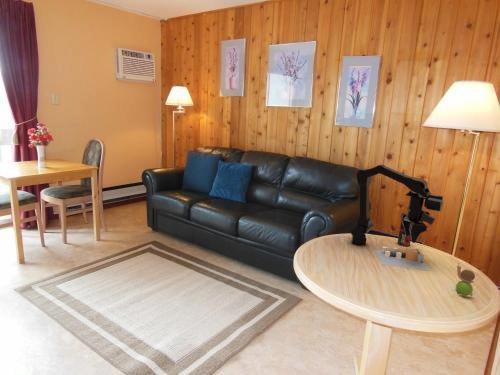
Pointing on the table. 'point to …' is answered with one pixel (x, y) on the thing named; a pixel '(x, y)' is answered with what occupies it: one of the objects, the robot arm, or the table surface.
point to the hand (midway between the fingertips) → (410, 239)
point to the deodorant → (403, 237)
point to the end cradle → (420, 256)
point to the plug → (407, 254)
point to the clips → (387, 253)
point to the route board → (400, 262)
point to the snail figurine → (465, 281)
